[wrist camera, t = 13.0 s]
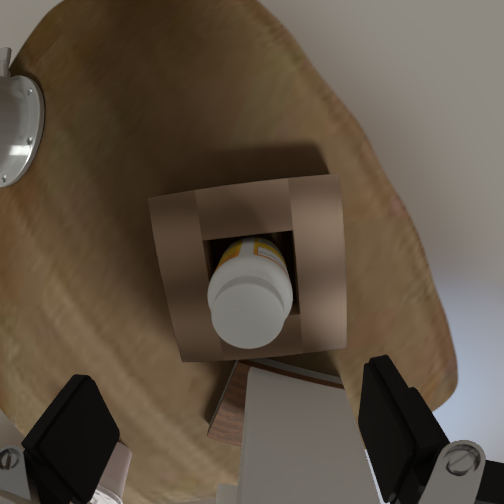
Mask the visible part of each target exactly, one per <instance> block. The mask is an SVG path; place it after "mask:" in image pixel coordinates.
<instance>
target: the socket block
mask: <svg viewBox="0 0 504 504" xmlns="http://www.w3.org/2000/svg"><path fill="white" fill-rule="evenodd" d="M147 199H148V206H149V212H150V219H151V225H152V230H153V236H154V242H155V247H156V252H157V257H158V263H159V268H160V272H161V277H162V282H163V287H164V291H165V296H166V300H167V304H168V309H169V313H170V317H171V321H172V325H173V329H174V333H175V337H176V341H177V345H178V348H179V352H180V356H181V359H182V362H206V361H226V360H242V359H255V358H266V357H277V356H286V355H295V354H304V353H312V352H319V351H326V350H333V349H340V348H346V325H347V308H346V264H345V242H344V226H343V212H342V200H341V189H340V178H339V174H325V175H313V176H302V177H291V178H282V179H272V180H263V181H255V182H247V183H239V184H231V185H224V186H217V187H210V188H203V189H196V190H190V191H184V192H177V193H171V194H166V195H160V196H155V197H150V198H147ZM281 231H291V241H292V251H293V262H294V274H295V285H296V298H297V299H296V300H293V301H292V306H291V310H290V312H289V315H288V316H287V318H286V319H285V321H284V324H283V327H282V330H281V331H280V333H279V334H278V336H277V337H276V338H275V339H274V340H273V341H271V342H270V343H268V344H267V345H264V346H262V347H258V348H253V349H244V348H239V347H235V346H233V345H231V344H229V343H227V342H226V341H224V340H223V339H222V338H221V337H220V336H219V335H218V334H217V332H216V330H215V329H214V326H213V324H212V319H211V310H210V308H209V304H208V296H207V294H208V287H209V283H210V281H211V278H212V276H213V274H214V272H215V267H214V260H213V254H212V248H211V241H210V240H212V239H220V238H228V237H237V236H245V235H254V234H263V233H272V232H281Z"/></svg>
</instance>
